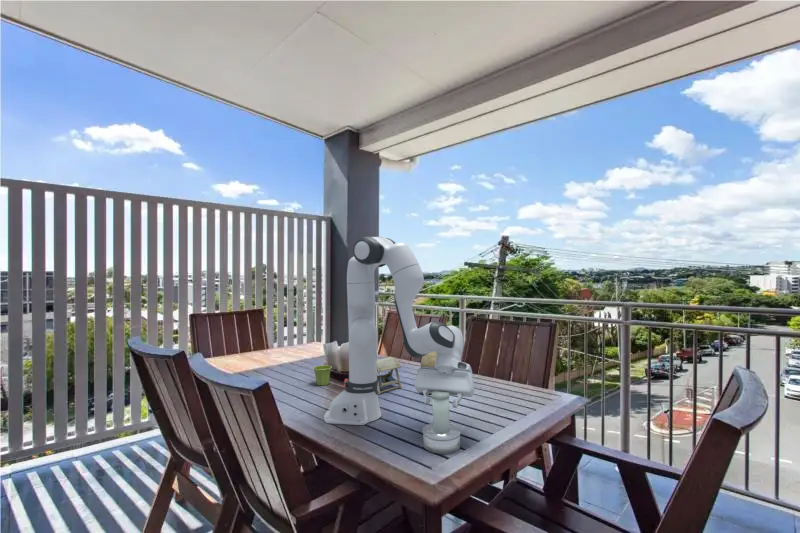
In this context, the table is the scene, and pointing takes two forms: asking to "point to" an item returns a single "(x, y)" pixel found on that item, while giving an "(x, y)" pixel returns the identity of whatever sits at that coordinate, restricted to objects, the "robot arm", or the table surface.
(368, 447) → the table surface
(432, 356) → the fossilized egg
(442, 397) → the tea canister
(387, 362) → the swing bench
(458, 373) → the robot arm
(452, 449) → the round glass dish
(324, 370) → the plant pot
